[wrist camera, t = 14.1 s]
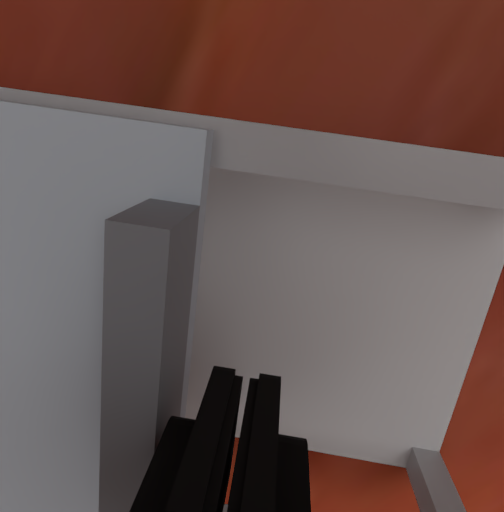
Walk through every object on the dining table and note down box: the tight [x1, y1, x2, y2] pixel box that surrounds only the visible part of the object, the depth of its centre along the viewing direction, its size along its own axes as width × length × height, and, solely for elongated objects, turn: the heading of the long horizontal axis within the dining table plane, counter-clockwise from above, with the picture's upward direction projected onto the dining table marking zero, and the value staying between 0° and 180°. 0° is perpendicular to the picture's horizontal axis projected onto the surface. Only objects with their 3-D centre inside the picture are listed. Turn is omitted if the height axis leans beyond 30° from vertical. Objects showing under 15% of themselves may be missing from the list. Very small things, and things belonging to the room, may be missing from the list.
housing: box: [0, 87, 504, 512], centre depth 15 cm, size 14×24×6 cm, turn 82°
